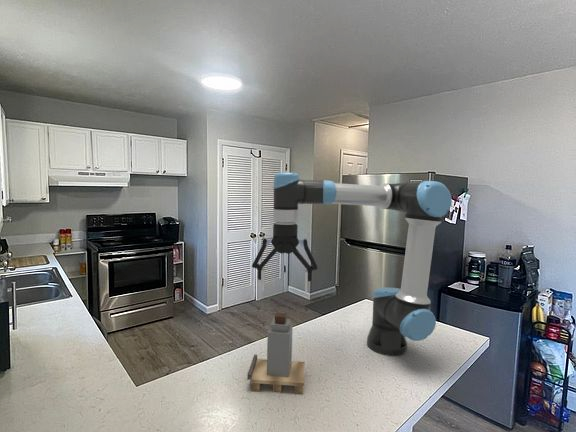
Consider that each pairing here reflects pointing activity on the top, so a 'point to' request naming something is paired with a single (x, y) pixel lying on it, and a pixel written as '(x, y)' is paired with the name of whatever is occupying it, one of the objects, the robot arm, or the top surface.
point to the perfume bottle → (279, 346)
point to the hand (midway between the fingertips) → (284, 290)
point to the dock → (260, 376)
